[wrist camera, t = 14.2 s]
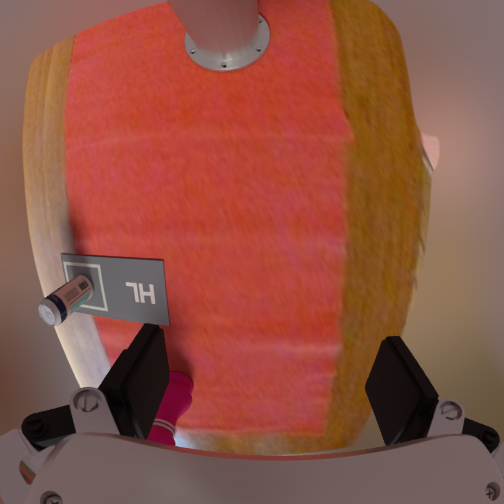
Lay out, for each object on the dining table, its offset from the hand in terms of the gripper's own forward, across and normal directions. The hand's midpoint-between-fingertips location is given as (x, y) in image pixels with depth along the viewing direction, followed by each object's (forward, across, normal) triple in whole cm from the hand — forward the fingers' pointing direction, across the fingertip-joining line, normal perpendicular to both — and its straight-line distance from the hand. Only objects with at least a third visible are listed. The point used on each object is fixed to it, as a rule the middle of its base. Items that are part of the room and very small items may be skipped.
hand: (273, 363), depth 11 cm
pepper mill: (+30, +15, +33) cm, 47 cm away
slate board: (+30, +26, +13) cm, 42 cm away
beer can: (+30, +32, +13) cm, 46 cm away
